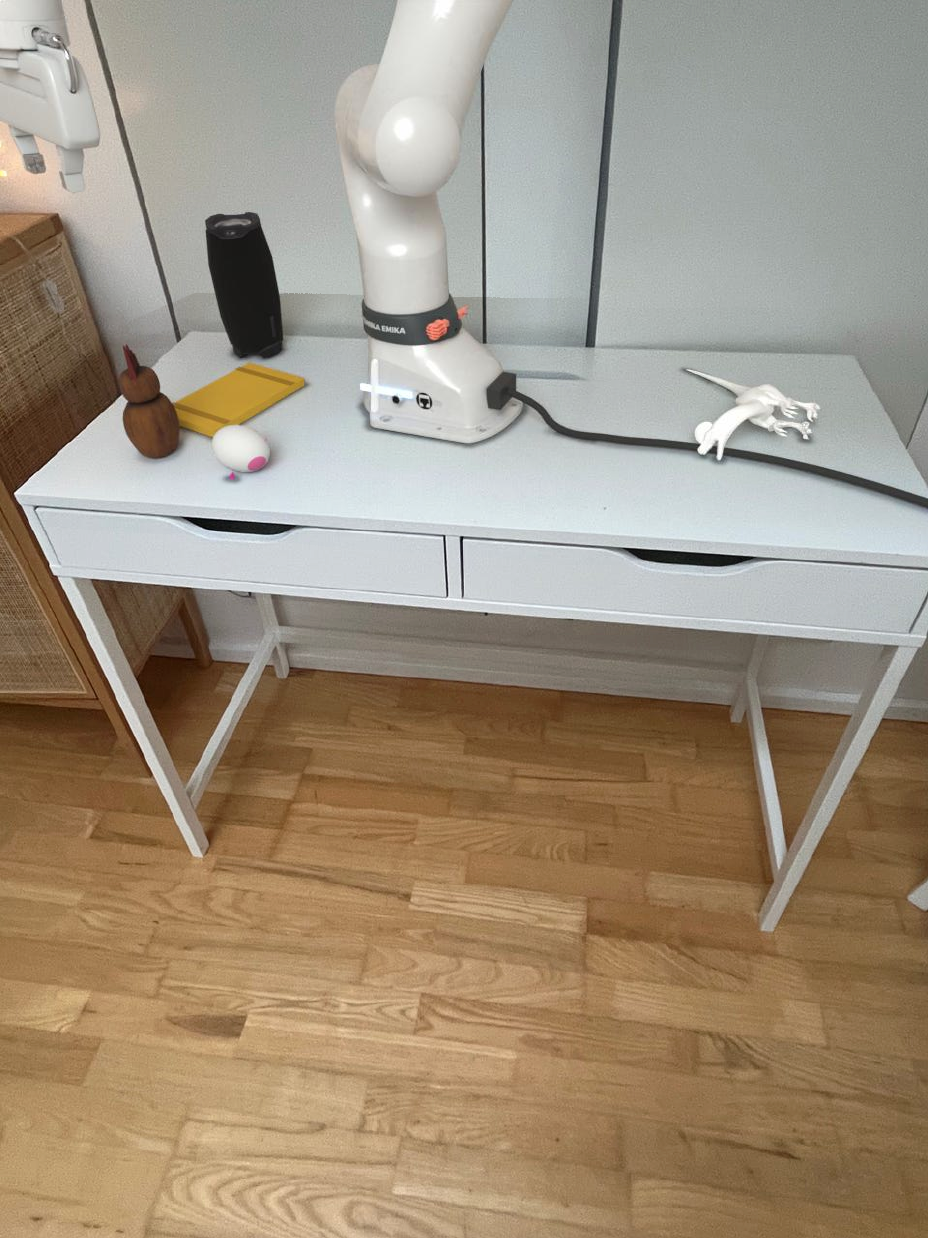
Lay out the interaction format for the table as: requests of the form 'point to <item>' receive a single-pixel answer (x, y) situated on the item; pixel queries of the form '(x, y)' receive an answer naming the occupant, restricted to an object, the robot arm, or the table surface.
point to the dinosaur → (750, 414)
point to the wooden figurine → (147, 410)
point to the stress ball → (240, 448)
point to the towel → (234, 398)
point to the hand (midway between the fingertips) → (55, 181)
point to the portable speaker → (245, 283)
